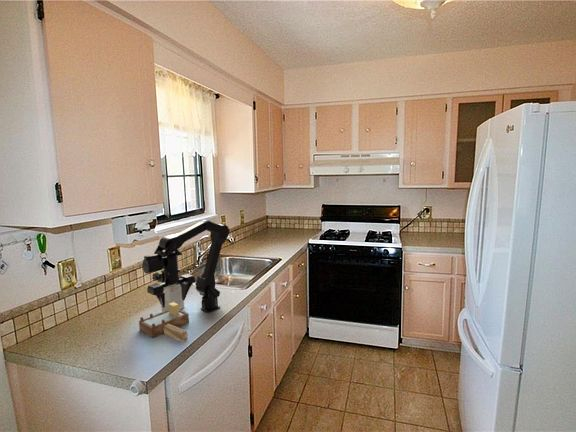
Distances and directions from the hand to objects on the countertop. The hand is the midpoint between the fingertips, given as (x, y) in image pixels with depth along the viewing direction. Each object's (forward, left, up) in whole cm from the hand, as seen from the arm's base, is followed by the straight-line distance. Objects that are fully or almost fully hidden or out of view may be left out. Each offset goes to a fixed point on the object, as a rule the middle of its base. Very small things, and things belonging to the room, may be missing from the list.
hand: (173, 303), depth 137 cm
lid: (+5, 0, -5) cm, 7 cm away
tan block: (+7, +11, -8) cm, 15 cm away
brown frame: (+5, 0, -8) cm, 9 cm away
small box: (-6, -12, -8) cm, 16 cm away
